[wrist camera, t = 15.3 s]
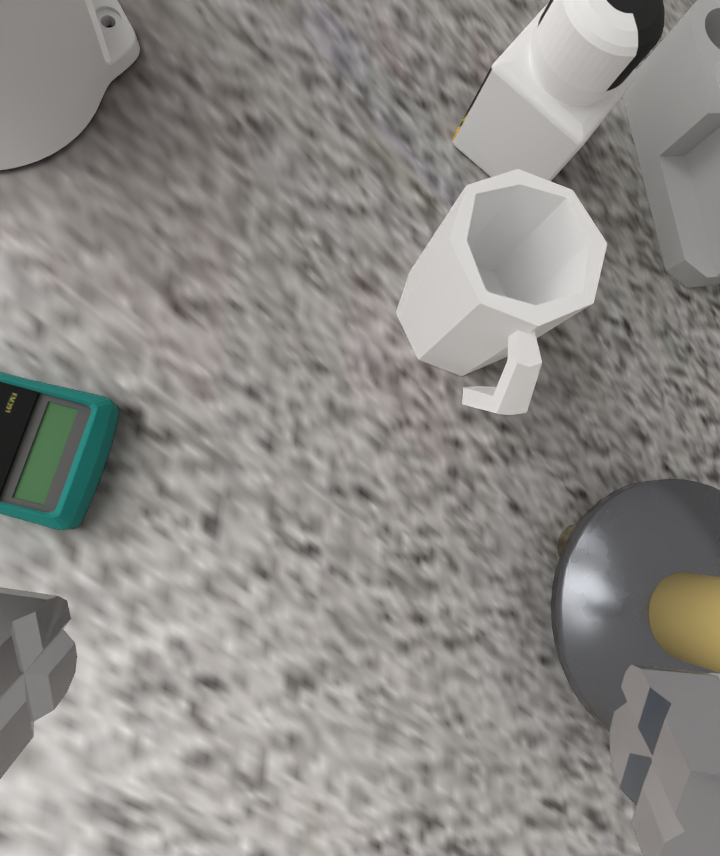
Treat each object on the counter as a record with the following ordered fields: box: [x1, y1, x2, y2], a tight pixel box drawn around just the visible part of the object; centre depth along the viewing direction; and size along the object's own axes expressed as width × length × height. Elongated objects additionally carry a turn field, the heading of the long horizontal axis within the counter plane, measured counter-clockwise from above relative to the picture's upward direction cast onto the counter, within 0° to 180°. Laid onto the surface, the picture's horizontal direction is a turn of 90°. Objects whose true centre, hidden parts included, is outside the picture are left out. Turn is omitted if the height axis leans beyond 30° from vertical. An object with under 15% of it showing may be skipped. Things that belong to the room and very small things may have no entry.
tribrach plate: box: [551, 479, 720, 732], centre depth 34 cm, size 16×16×4 cm
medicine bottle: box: [452, 0, 665, 181], centre depth 34 cm, size 7×7×12 cm
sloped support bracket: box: [623, 0, 720, 288], centre depth 39 cm, size 6×18×8 cm, turn 10°
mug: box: [396, 169, 607, 415], centre depth 32 cm, size 12×9×10 cm
